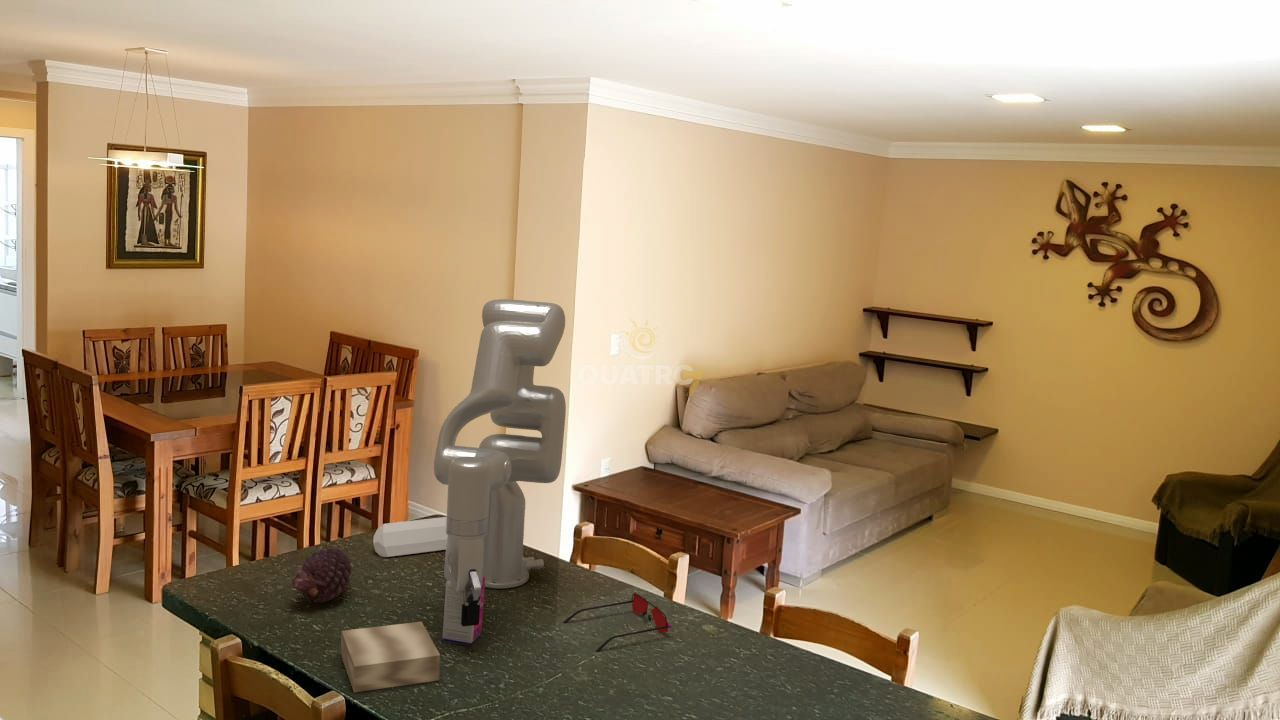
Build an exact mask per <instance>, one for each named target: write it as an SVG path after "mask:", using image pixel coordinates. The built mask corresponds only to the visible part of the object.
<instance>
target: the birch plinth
mask: <svg viewBox="0 0 1280 720" xmlns="http://www.w3.org/2000/svg"><path fill="white" fill-rule="evenodd" d="M340 640H341V643H340V657H341V659H342V663H343V665H344V668H345V670H346V673H347V675H348V679H349V682H350V685H351V687H352V688H351V689H352V691H353V693H359V692H360V693H361V692H365V691H366V692H367V691H373V690H375V691H376V690H380V689H388V688H395V687H401V686H402V687H403V686H409V685H415V684H422V683H430V682H437V681H440V675H441V674H440V670H441V654H440V652H439V649H437V647H436V645H435V643H434V642H433V640H432V638H431V636H430V635H429V632H428V631H427V628H426V627H425V625H424V624H423V622H422V621H414V622H406V623H399V624H398V623H397V624H390V625H388V624H387V625H380V626H372V627H362V628H356V629H347V630H341V637H340Z"/></svg>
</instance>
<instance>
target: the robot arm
mask: <svg viewBox="0 0 1280 720" xmlns="http://www.w3.org/2000/svg"><path fill="white" fill-rule="evenodd" d="M563 309H564V308H563V307H562V306H561V305H559V304H557V303H554V302H546V301H545V302H542V301H534V300H533V301H531V300H522V299H521V300H520V299H509V298H505V299H504V298H501V299H492V300H490V301H488V302H486V303H485V304H484V305H483V308H482V311H481V312H482V313H481V318H482V324H483V329H482V331H481V334H480V336H479V337H480V338H479V342H478V348H477V349H478V350H477V355H476V360H475V366H474V370H473V377H472V382H471V388H470V391H469V394H468V395H467V396H466V397H464V398H463V400H462V401H460V402H459V403H458V404H457V405H456V406H455V407H454V408H452V409H451V411H450V412H449V413H448V415H447V417H446V418H445V420H444V421H443V423H442V425H441V427H440V430H439V432H438V437H437V443H436V449H435V453H434V460H433V461H434V462H433V474H434V476H435V479H436V480H437V482H438V483H441V484H442V485H446V486H447V498H446V499H447V502H446V503H447V505H446V517H447V520H446V534H447V535H448V537H447V545H446V549H445V557H444V569H443V574H444V578H445V580H446V582H447V581H448V580H449V581H450V583H451V587H452V588H453V589H454V590H455V591H456V592H460V591H462V593H463V601H464V604H462V612H461V625H462V626H473V625H478V624H479V615H480V598H481V597H480V596H481V595H480V593H481V588H482V582H483V577H485V588H488V589H510V588H516V587H520V586H522V585H524V584H525V583H527V582H528V580H529V579H530V574H529V572H530V570H531V569H536V570H537V569H543V568H544V567H545V562H544V559H543V558H539V559H535V557H534V556H528V557H524V555H523V553H524V539H525V517H526V498H525V493H524V492H523V490H522V489H521V487H520V486H519V484H518V483H517V482H525V483H537V484H551V483H553V482H555V481H557V479H558V477H559V476H560V472H561V467H562V460H563V448H564V436H565V427H566V426H565V425H566V416H567V415H566V413H567V412H566V411H567V410H566V409H567V406H566V397H565V395H564V393H563V392H562V390H561V389H559V388H557V387H555V386H548V385H537V384H536V385H535V384H534V378H535V377H534V376H535V375H534V374H535V367H546V366H547V365H549V364H550V363H551V361H552V360H553V358H554V356H555V353H556V351H557V349H558V346H559V344H560V343H561V340H562V337H563V335H564V332H565V328H566V315H565V312H564V310H563ZM488 414H490V419H491V422H492V423H493V424H495V425H496V426H498V427H503V428H508V429H516V430H517V429H518V430H529V431H538V433H539V432H540V434H541V437H538V436H529V435H528V436H526V435H522V434H519V435H518V434H509V433H508V434H507V433H506V434H505V433H496V434H495V433H494V434H490V435H488V436H486V437H485V438H483V439H482V440H481V442H480V444H479V446H478V447H473V446H471V447H470V446H463V445H462V446H461V445H456V440H457V438H458V435H459V433H460V432H461V430H463V428H464V427H465V426H466V425H468V424H469V423H470V422H472V421H473V420H475V419H477V418H479V417H481V416H484V415H488ZM465 586H472V587H467V588H465ZM468 592H472V594H470V595H469V597H468V596H467V593H468Z"/></svg>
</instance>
